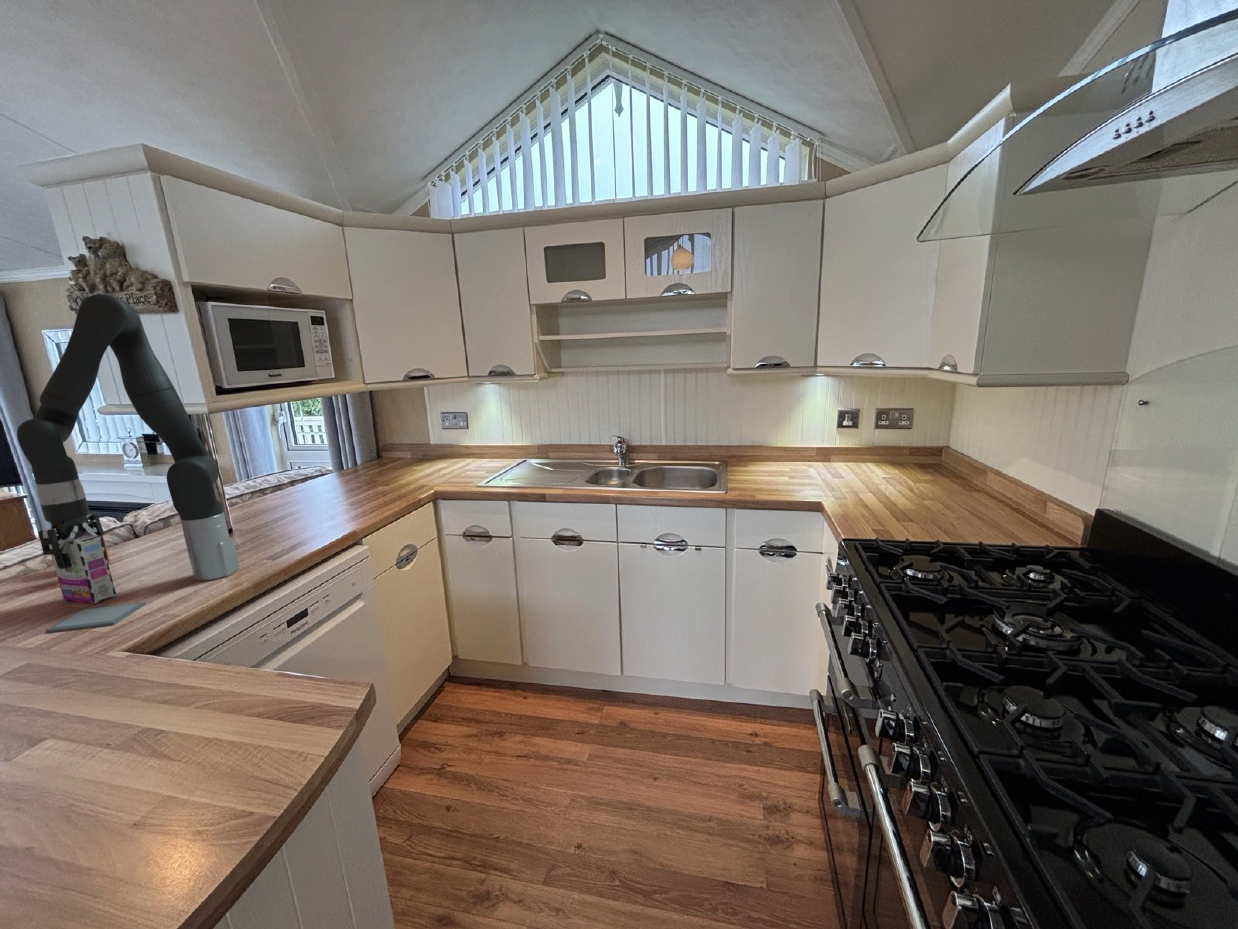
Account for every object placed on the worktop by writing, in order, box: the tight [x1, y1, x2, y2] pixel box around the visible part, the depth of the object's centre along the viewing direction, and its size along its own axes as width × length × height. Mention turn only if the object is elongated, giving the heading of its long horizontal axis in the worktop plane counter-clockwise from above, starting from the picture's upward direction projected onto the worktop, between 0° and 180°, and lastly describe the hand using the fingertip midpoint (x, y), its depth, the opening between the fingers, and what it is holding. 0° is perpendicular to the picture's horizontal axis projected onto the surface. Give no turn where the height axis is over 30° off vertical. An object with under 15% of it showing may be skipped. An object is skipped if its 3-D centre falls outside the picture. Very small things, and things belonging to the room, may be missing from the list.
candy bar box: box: [49, 535, 117, 605], centre depth 125 cm, size 11×5×16 cm, turn 76°
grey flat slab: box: [44, 601, 147, 633], centre depth 116 cm, size 13×10×1 cm
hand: (80, 561), depth 124 cm, fingers open, 8 cm apart
